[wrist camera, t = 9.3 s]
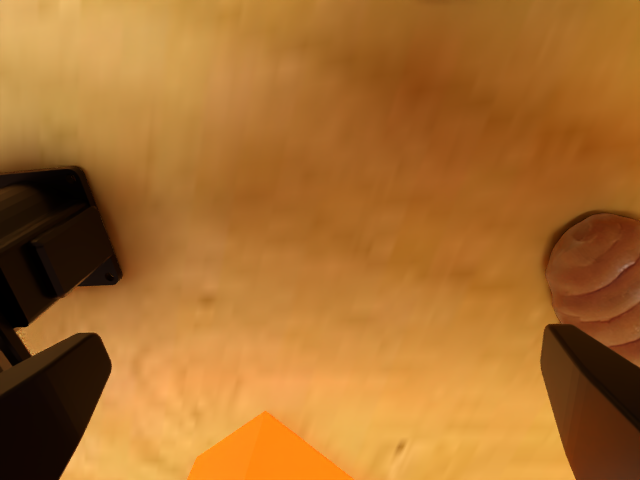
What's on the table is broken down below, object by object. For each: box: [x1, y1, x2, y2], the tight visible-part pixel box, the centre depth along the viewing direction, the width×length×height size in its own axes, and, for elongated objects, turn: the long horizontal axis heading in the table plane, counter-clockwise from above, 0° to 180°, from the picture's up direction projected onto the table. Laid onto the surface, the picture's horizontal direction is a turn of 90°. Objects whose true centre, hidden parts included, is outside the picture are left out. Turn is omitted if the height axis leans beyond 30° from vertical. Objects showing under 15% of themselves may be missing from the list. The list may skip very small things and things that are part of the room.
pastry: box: [545, 213, 640, 367], centre depth 19 cm, size 9×7×4 cm
